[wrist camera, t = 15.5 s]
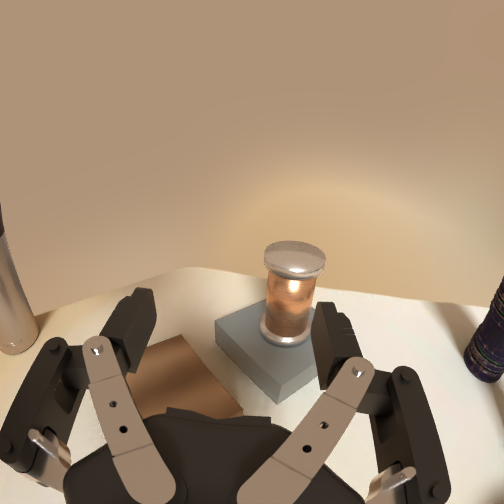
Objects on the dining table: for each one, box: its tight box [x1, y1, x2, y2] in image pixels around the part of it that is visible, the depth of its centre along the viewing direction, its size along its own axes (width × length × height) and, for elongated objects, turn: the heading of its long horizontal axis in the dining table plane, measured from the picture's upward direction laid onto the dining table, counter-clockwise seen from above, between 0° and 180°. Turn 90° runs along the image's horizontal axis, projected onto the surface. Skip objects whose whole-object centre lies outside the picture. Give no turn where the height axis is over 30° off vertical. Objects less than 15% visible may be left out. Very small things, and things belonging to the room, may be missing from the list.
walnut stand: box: [125, 335, 243, 419], centre depth 25 cm, size 13×13×4 cm
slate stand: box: [215, 299, 318, 404], centre depth 35 cm, size 13×13×4 cm
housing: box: [259, 241, 326, 348], centre depth 32 cm, size 7×7×11 cm
